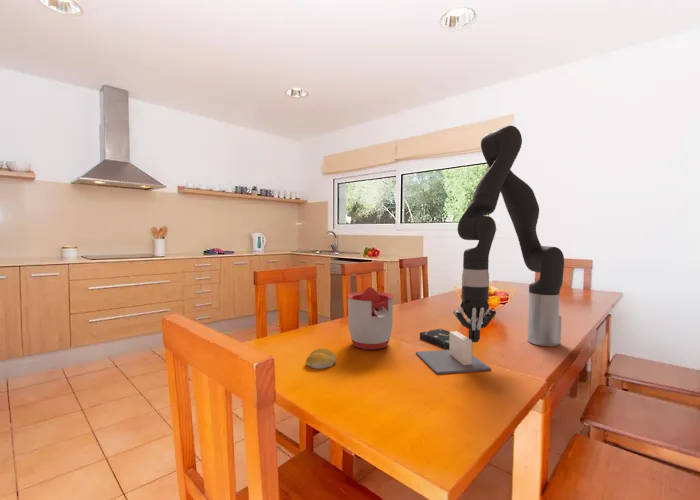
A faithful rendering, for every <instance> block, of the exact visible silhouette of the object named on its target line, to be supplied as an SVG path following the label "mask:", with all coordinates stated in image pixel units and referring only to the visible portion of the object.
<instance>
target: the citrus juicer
mask: <svg viewBox="0 0 700 500" xmlns="http://www.w3.org/2000/svg"><path fill="white" fill-rule="evenodd" d="M394 298H395V297H394V295H393V294H391V293H389V292H388V293H387V292H383V291H377V290H375V289H374V287H372V286H369V287H367V288H366V289H365V291H359V292H357V291H356V292H352V293H349V294H347V320H348V321H347V322H348V323H347V324H348V332H349V334H350V335H349V336H350V339H351V343H352V344H353V346H354V347H356V348H358V349H362V350H363V351H369V350H380V349H383V348H386V347H387V346H388V344H389V343H390V340H391V335H392V331H393V330H392V329H393V325H394V324H393V323H394V322H393V319H394V317H393V315H394V313H393V309H394V307H393V306H394V302H393V301H394V300H393V299H394Z"/></svg>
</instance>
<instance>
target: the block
mask: <svg viewBox="0 0 700 500" xmlns="http://www.w3.org/2000/svg"><path fill="white" fill-rule="evenodd" d="M449 332H450V344H449V354H450V355H451V356H453V357H454V358H455V359H456V360H458V361H459V362H460V363H462V364H463V365H471V363H472V355H473V354H472V353H473V350H472V349H473V342H472V340H470V339H469V337H467V336H465V335H463V334H462V333H461V332H459V331H457V330H455V331H449Z"/></svg>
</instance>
